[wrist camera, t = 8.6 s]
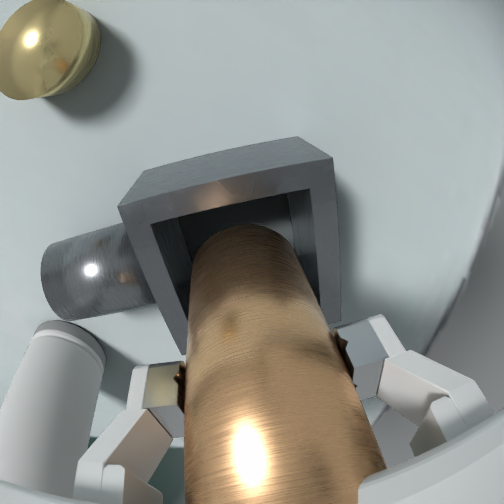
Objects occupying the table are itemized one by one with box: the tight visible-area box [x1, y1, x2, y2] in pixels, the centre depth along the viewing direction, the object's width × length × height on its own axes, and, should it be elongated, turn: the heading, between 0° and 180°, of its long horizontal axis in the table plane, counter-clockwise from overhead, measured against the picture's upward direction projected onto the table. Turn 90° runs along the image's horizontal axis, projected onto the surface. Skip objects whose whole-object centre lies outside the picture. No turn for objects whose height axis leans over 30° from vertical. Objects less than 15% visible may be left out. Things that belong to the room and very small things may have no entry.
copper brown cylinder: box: [184, 224, 387, 504], centre depth 9 cm, size 4×4×10 cm
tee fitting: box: [41, 137, 341, 355], centre depth 15 cm, size 8×14×5 cm, turn 101°
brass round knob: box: [0, 0, 101, 100], centre depth 10 cm, size 5×5×3 cm
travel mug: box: [0, 320, 106, 498], centre depth 12 cm, size 6×7×20 cm
